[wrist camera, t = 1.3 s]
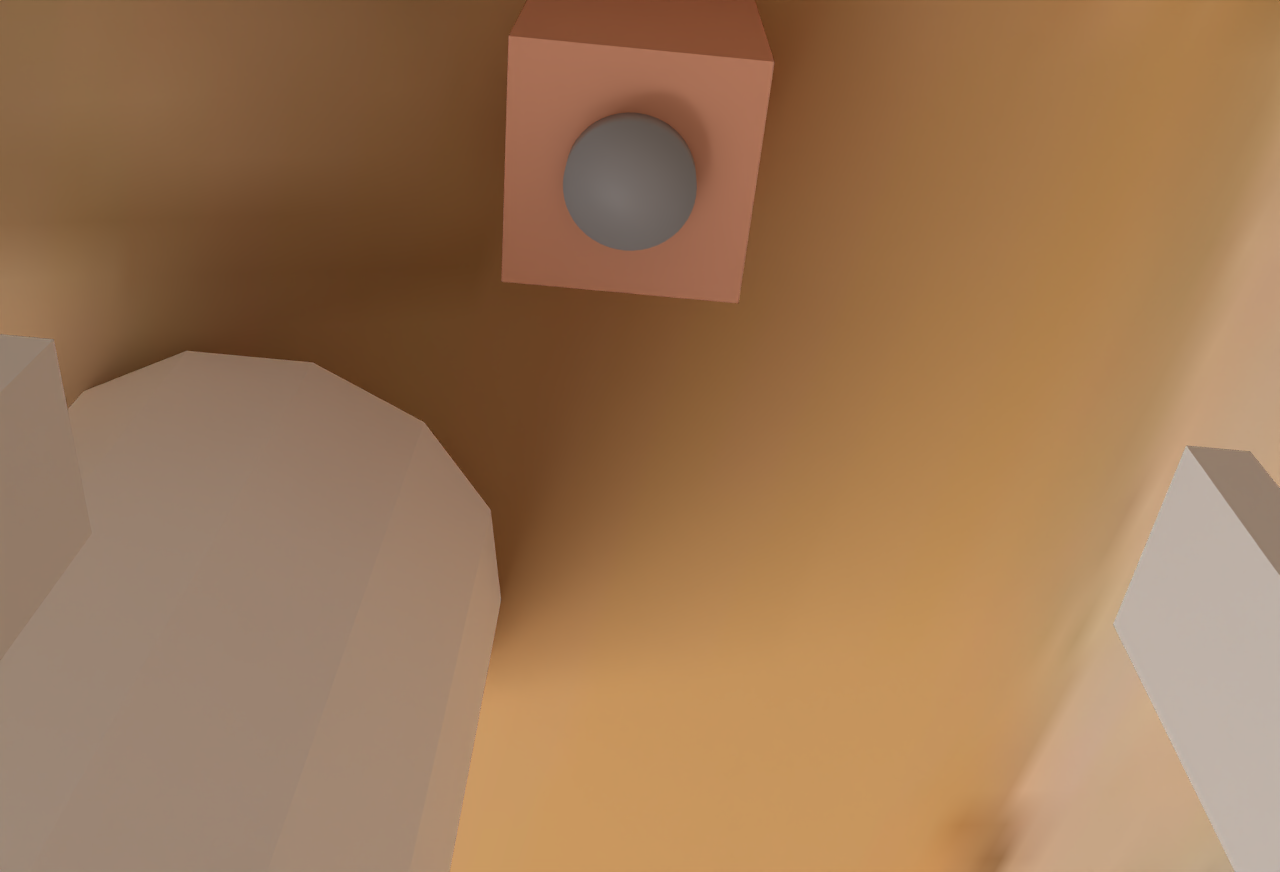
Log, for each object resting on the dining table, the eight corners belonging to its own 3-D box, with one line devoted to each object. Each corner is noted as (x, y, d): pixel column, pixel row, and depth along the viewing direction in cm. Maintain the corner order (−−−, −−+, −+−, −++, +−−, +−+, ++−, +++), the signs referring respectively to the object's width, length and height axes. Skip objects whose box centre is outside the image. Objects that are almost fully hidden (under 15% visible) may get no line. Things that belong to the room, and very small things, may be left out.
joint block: (530, 184, 29) (498, 294, 23) (539, -24, 26) (504, 43, 21) (726, 202, 29) (740, 315, 24) (754, -3, 27) (777, 69, 21)
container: (405, 771, 41) (246, 1401, 25) (-8, 631, 38) (-472, 1252, 22) (573, 467, 34) (495, 1081, 18) (84, 264, 31) (-499, 799, 15)
